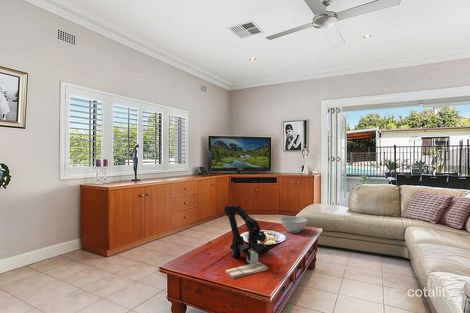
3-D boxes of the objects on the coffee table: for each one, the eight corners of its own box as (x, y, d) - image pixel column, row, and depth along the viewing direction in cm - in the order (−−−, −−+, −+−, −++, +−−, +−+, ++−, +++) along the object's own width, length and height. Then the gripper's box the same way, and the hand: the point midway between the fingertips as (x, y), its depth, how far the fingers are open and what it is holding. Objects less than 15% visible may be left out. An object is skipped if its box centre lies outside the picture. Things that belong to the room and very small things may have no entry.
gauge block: (244, 260, 191) (244, 250, 191) (250, 258, 194) (250, 249, 194) (252, 265, 183) (252, 255, 182) (257, 263, 185) (258, 253, 185)
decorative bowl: (308, 228, 274) (308, 217, 274) (305, 236, 249) (305, 223, 249) (282, 226, 283) (282, 215, 283) (277, 233, 258) (278, 221, 258)
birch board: (225, 272, 171) (225, 270, 171) (259, 264, 185) (259, 261, 185) (233, 278, 162) (233, 276, 162) (267, 269, 176) (267, 267, 176)
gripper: (247, 243, 175) (247, 266, 175) (269, 239, 184) (269, 261, 184) (239, 239, 185) (239, 260, 185) (260, 235, 194) (260, 255, 194)
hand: (252, 259), depth 187 cm, fingers closed on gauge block, 5 cm apart
